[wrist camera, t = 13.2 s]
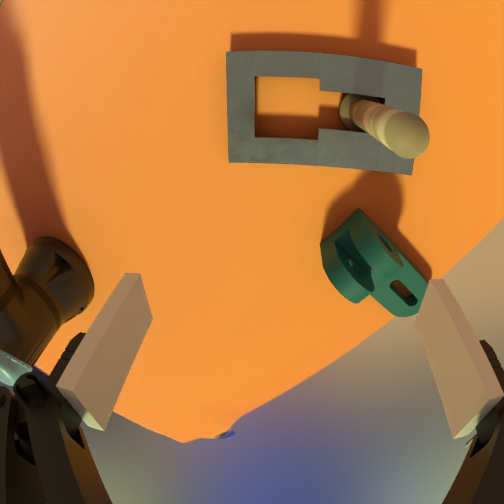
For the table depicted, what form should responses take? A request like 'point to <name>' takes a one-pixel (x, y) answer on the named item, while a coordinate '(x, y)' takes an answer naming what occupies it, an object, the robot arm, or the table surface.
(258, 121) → the table surface
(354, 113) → the peg
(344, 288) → the bracket
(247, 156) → the keyhole plate
